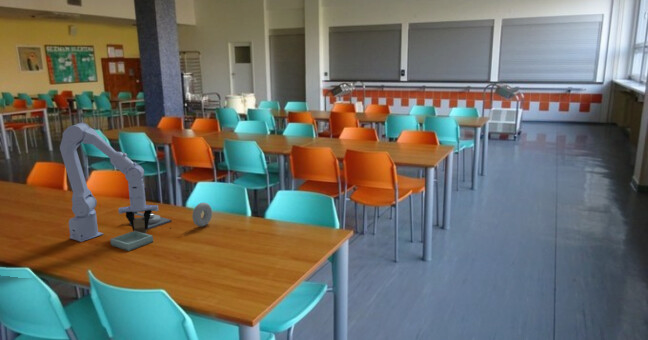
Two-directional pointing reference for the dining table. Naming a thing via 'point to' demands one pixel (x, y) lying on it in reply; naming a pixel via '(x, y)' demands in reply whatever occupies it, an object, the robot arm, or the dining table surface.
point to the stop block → (139, 225)
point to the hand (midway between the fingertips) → (140, 229)
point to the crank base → (163, 221)
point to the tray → (131, 240)
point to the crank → (143, 214)
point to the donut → (197, 214)
